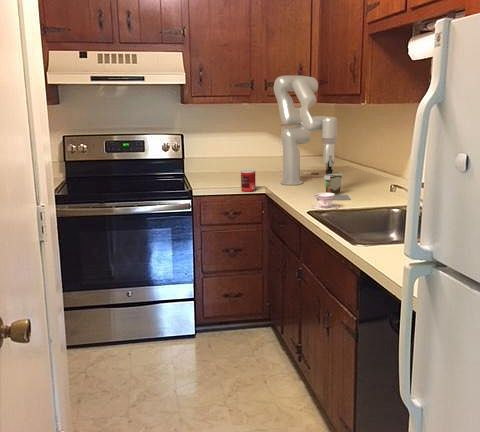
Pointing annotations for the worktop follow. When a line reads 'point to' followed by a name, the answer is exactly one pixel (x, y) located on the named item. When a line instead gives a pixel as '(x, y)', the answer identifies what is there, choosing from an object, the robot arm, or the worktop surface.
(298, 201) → the worktop surface
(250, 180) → the canned food
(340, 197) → the mat
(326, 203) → the teacup
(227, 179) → the worktop surface
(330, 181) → the food container
